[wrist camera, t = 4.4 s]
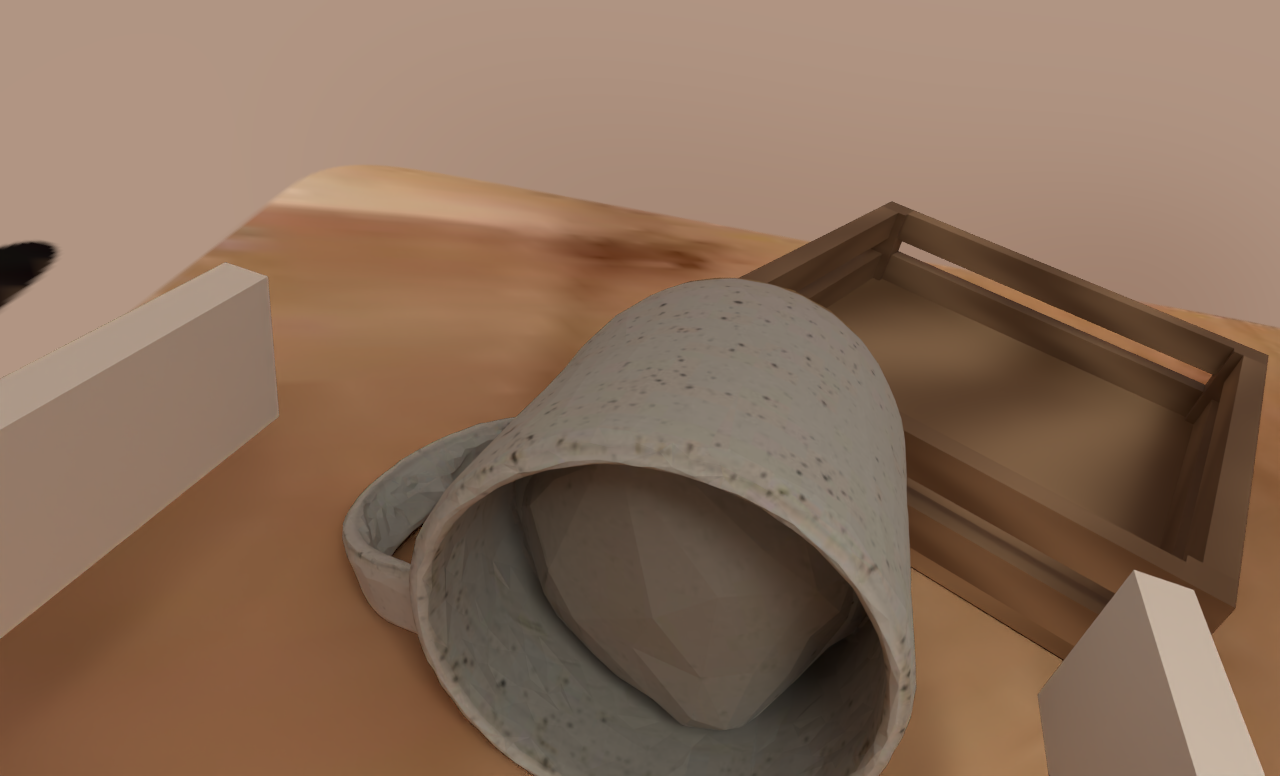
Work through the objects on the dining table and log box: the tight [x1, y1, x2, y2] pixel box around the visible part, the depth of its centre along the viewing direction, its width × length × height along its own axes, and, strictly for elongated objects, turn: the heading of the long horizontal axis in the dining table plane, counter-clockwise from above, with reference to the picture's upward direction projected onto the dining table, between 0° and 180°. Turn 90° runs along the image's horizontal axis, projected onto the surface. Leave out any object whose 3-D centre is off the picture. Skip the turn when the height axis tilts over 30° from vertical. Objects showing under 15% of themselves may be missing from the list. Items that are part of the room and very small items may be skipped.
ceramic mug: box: [342, 278, 916, 776], centre depth 15 cm, size 11×8×8 cm
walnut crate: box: [740, 202, 1268, 660], centre depth 25 cm, size 14×15×3 cm
